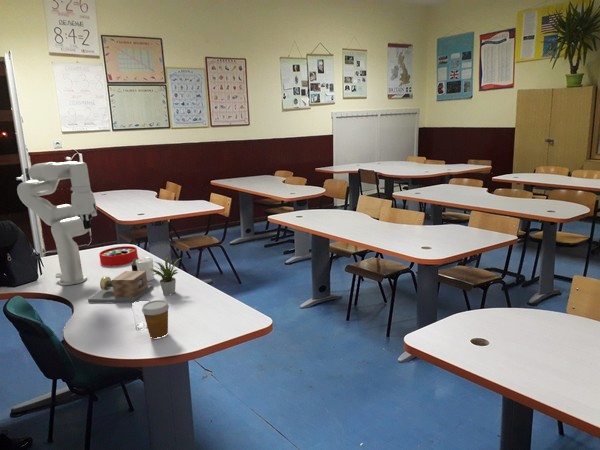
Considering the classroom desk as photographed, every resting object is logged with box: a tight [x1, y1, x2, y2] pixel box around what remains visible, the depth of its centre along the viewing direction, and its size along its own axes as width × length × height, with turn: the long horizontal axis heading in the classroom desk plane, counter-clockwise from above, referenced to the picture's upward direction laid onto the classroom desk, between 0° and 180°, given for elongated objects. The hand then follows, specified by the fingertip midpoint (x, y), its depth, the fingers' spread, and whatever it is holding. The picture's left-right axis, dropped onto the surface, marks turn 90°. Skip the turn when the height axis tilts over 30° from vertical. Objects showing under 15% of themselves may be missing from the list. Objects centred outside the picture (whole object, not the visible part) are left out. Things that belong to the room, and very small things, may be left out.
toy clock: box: [98, 245, 139, 267], centre depth 276 cm, size 20×6×20 cm
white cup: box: [136, 257, 155, 282], centre depth 241 cm, size 8×8×10 cm
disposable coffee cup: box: [141, 299, 170, 339], centre depth 177 cm, size 10×10×12 cm
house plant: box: [150, 257, 182, 296], centre depth 220 cm, size 14×14×16 cm
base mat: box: [87, 284, 154, 304], centre depth 222 cm, size 22×18×2 cm
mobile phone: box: [131, 258, 139, 271], centre depth 258 cm, size 5×3×15 cm
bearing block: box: [111, 270, 149, 297], centre depth 220 cm, size 10×12×8 cm
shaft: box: [99, 276, 142, 290], centre depth 221 cm, size 18×6×6 cm, turn 81°
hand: (87, 228), depth 228 cm, fingers closed
